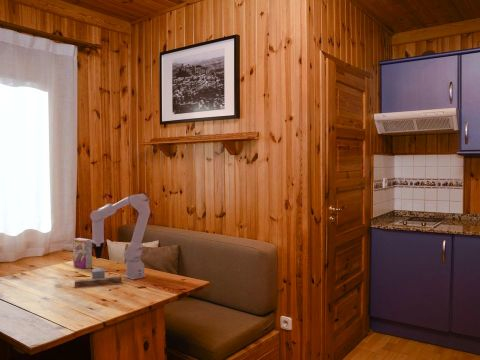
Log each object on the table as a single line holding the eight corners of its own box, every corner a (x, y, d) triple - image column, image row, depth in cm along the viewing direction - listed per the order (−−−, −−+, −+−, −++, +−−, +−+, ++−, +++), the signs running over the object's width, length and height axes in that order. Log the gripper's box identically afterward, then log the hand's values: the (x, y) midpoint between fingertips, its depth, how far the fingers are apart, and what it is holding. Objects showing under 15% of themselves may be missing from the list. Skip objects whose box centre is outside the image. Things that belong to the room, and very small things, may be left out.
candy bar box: (72, 266, 247) (72, 238, 246) (80, 265, 251) (79, 237, 251) (85, 269, 241) (85, 240, 240) (92, 267, 245) (92, 239, 245)
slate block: (104, 277, 224) (104, 268, 223) (104, 280, 218) (104, 271, 218) (92, 278, 222) (92, 269, 222) (92, 281, 216) (92, 271, 216)
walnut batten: (121, 281, 216) (121, 276, 216) (121, 283, 213) (121, 278, 213) (75, 285, 209) (74, 280, 209) (74, 287, 206) (74, 281, 206)
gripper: (90, 230, 234) (90, 255, 235) (89, 234, 220) (90, 260, 221) (103, 230, 236) (104, 254, 237) (104, 234, 223) (104, 259, 223)
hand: (98, 257), depth 229 cm, fingers open, 4 cm apart
